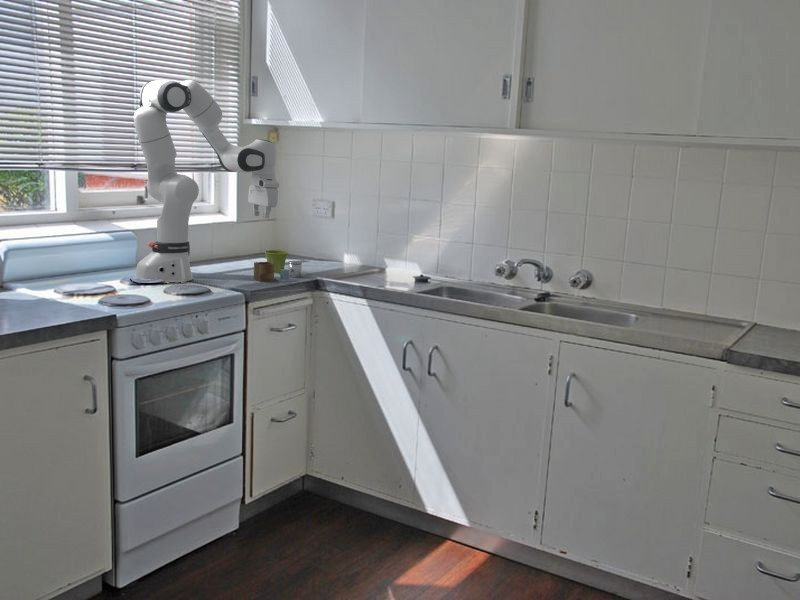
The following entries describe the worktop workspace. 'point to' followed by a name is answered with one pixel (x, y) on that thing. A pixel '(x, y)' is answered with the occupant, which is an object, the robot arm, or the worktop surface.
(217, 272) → the worktop surface
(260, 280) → the canister
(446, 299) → the worktop surface
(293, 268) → the tin
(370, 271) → the worktop surface
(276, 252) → the plant pot
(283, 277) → the lid
